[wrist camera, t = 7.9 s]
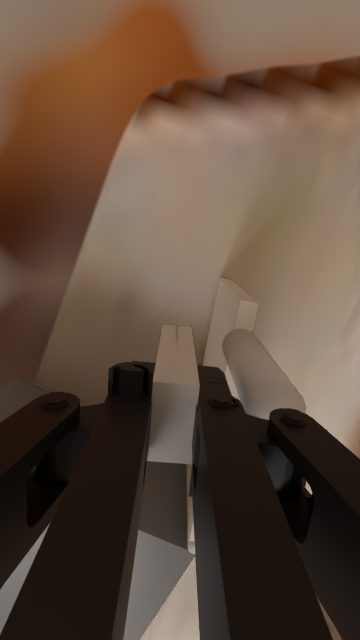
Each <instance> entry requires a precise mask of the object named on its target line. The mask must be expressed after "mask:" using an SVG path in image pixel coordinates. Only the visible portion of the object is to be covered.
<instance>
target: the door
mask: <svg viewBox="0 0 360 640" xmlns="http://www.w3.org/2000/svg"><path fill="white" fill-rule="evenodd" d="M258 306H259V303H258V302H257V301H256V300H255V299H253V298H252V297H251V296H250V295H249V294H247V293H246V292H245V291H244V290H243V289H241V288H240V287H239V286H238V285H236V284H235V283H234V282H233V281H232V280H227V279H221V278H219V283H218V288H217V293H216V298H215V303H214V309H213V314H212V319H211V324H210V329H209V334H208V339H207V344H206V350H205V355H204V360H203V365H202V366H211V367H218V368H219V369H220V370H222V371H223V372H224V374H225V377H226V380H227V383H228V386H229V389H230V392H231V394H232V396H233V397H235V398H236V399H237V398H238V395H239V397H240V400H241V403H242V405H243V407H244V410H245V412H246V413H247V414H249V415H252V416H255V417H258V418H262V419H266V420H269V416H270V412H271V411H273V410H274V409H279V408H292V409H293V410H294V409H296V410H299V411H300V412H302V413H305V411H306V407H305V402H304V399H303V397H302V396H301V394H300V393H299V392H298V391H297V389H296V388H295V387H294V385H293V384H292V383H291V381H290V380H289V379H288V377H287V376H286V375H285V374H284V372H283V371H282V370H281V368H280V367H279V366H278V364H277V363H276V362H275V360H274V359H273V358H272V357H271V355H270V354H269V353H268V351H267V350H266V349H265V347H264V346H263V345H262V344H261V342H260V341H259V340H258V338H257V337H256V336H255V334H254V333H253V328H254V324H255V319H256V315H257V311H258ZM192 461H193V458H192V460H191V464H186V485H187V534H188V551H189V552H190V553H192V554H195V539H194V521H193V503H192V497H190V496H189V488H190V479H191V470H192Z"/></svg>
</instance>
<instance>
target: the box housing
mask: <svg viewBox="0 0 360 640" xmlns="http://www.w3.org/2000/svg"><path fill="white" fill-rule="evenodd" d="M45 394H49V392H46V391H44V390H42V389H40V388H37V387H35V386H33V385H31V384H28V383H26V382H24V381H22V380H20V379H17V378H15V379H14V380H13V381H12V382H10V383H9V384H8V385H7V386H6V387H4V388H3V389H2V390H1V391H0V422H2V421H3V420H5V419H6V418H8V417H9V416H10V415H12V414H13V413H15V412H16V411H18V410H19V409H21V408H22V407H24V406H25V405H27V404H28V403H29V402H31V401H32V400H34V399H35V398H38V397H40V396H42V395H45ZM49 525H50V524H49ZM49 525H48V527H49ZM48 527H47V528H46V529H45V531H44V532H43V533H42V535H41V536H40V537H39V539H38V540H37V541H36V542H35V544H34V545H33V546H32V548H31V549H30V550H29V552H28V553H27V554H26V556H25V557H24V558H23V560H22V561H21V562H20V564H19V565H18V566H17V568H16V569H15V570H14V572H13V573H12V574H11V576H10V577H9V578H8V580H7V581H6V582H5V584H4V585H3V586H2V588H1V589H0V634H1V632H2V630H3V627H4V625H5V623H6V621H7V618H8V616H9V614H10V612H11V610H12V607H13V605H14V603H15V601H16V598H17V596H18V594H19V592H20V589H21V587H22V585H23V583H24V581H25V578H26V576H27V574H28V572H29V569H30V567H31V565H32V563H33V560H34V558H35V556H36V554H37V552H38V549H39V547H40V545H41V543H42V540H43V538H44V536H45V534H46V531H47V529H48ZM194 557H195V554H192V553H190V552H189V551H188V534H187V485H186V464H181V463H167V462H153V461H147V471H146V479H145V486H144V493H143V500H142V508H141V515H140V522H139V530H138V537H137V544H136V551H135V559H134V566H133V573H132V581H131V588H130V595H129V602H128V610H127V617H126V624H125V632H124V639H123V640H140V638H141V637H142V635H143V634H144V632H145V631H146V629H147V628H148V626H149V625H150V623H151V622H152V620H153V619H154V617H155V616H156V614H157V613H158V611H159V610H160V608H161V607H162V605H163V604H164V602H165V601H166V599H167V597H168V596H169V594H170V593H171V591H172V590H173V588H174V587H175V585H176V584H177V582H178V581H179V579H180V578H181V576H182V575H183V573H184V572H185V570H186V569H187V567H188V566H189V564H190V563H191V561H192V560H193V558H194Z"/></svg>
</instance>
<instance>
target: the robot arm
mask: <svg viewBox="0 0 360 640" xmlns="http://www.w3.org/2000/svg"><path fill="white" fill-rule="evenodd" d="M192 458H193V461H192V470H191V479H190V488H189V496H190V497H192V503H193V521H194V539H195V557H196V575H197V593H198V611H199V629H200V640H333V638H332V635H331V633H330V630H329V628H328V625H327V622H326V620H325V617H324V615H323V612H322V609H321V607H320V604H319V602H318V600H319V601H320V603H321V605H322V606H323V608H324V610H325V611H326V613H327V614H328V616H329V618H330V619H331V621H332V623H333V624H334V626H335V628H336V629H337V631H338V633H339V634H340V636H341V638H342V639H343V640H360V459H359V458H358V457H357V456H355V455H354V454H353V453H352V452H351V451H350V450H349V449H347V448H346V447H345V446H344V445H343V444H342V443H341V442H339V441H338V440H337V439H336V438H335V437H334V436H332V435H331V434H330V433H329V432H328V431H327V430H326V429H324V428H323V427H322V426H321V425H320V424H319V423H318V422H316V421H315V420H314V419H313V418H311V417H310V416H308V415H307V414H305V413H302V412H300V411H299V410H296V409H294V410H293V409H292V408H279V409H274V410H273V411H271V412H270V416H269V420H266V419H262V418H258V417H255V416H252V415H249V414H247V413H246V412H245V410H244V407H243V405H242V403H241V402H240V401H239V400H238V399H236V398H235V397H233V396H232V394H231V392H230V389H229V386H228V383H227V380H226V377H225V374H224V372H223V371H222V370H220V369H219V368H218V367H211V366H199V365H197V363H196V356H195V349H194V342H193V335H192V328H191V327H190V326H178V325H166V324H163V325H162V331H161V337H160V342H159V348H158V353H157V359H156V363H149V362H137V361H132V362H125V363H118V364H116V365H113V366H112V367H110V368H109V379H108V395H107V398H106V400H105V402H104V403H101V404H98V405H92V406H83V407H80V400H79V398H78V397H77V396H75V395H73V394H70V393H63V392H57V393H55V392H51V393H49V394H45V395H42V396H40V397H38V398H35V399H34V400H32V401H31V402H29V403H28V404H27V405H25V406H24V407H22V408H21V409H19V410H18V411H16V412H15V413H13V414H12V415H10V416H9V417H8V418H6V419H5V420H3V421H2V422H0V589H1V588H2V586H3V585H4V584H5V582H6V581H7V580H8V578H9V577H10V576H11V574H12V573H13V572H14V570H15V569H16V568H17V566H18V565H19V564H20V562H21V561H22V560H23V558H24V557H25V556H26V554H27V553H28V552H29V550H30V549H31V548H32V546H33V545H34V544H35V542H36V541H37V540H38V539H39V537H40V536H41V535H42V533H43V532H44V531H45V529H46V528H47V527H48V525H49V524H50V525H49V527H48V529H47V531H46V534H45V536H44V538H43V540H42V543H41V545H40V547H39V549H38V552H37V554H36V556H35V558H34V560H33V563H32V565H31V567H30V569H29V572H28V574H27V576H26V578H25V581H24V583H23V585H22V587H21V589H20V592H19V594H18V596H17V598H16V601H15V603H14V605H13V607H12V610H11V612H10V614H9V616H8V618H7V621H6V623H5V625H4V627H3V630H2V632H1V634H0V640H123V639H124V632H125V624H126V617H127V610H128V602H129V595H130V588H131V581H132V573H133V566H134V559H135V551H136V544H137V537H138V530H139V522H140V515H141V508H142V500H143V493H144V486H145V479H146V471H147V461H153V462H167V463H181V464H191V460H192ZM306 481H307V482H308V484H309V485H310V487H311V490H312V493H313V494H312V495H311V494H310V493H309V492H308V491H307V489H306V488H305V485H306ZM316 596H317V597H316ZM317 598H318V599H317Z"/></svg>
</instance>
